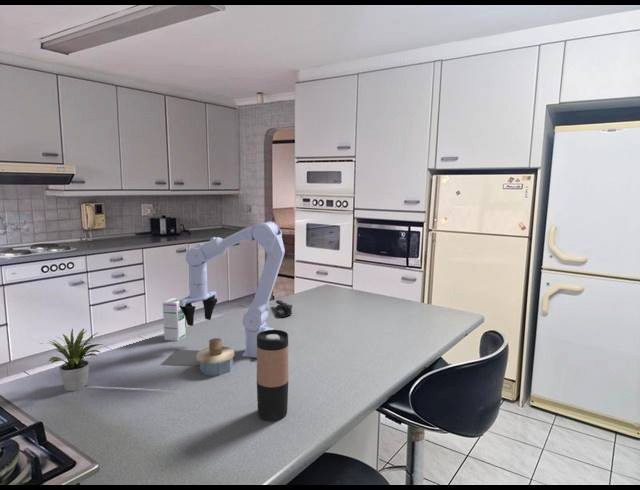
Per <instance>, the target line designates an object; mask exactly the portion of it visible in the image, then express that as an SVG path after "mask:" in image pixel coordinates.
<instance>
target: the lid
mask: <svg viewBox="0 0 640 490" xmlns="http://www.w3.org/2000/svg"><path fill="white" fill-rule="evenodd" d="M208 342H209V343H208V346H209V347H205V348H203V349H200V350H199V352H198V353H197V360H198V361H200V362H203V363H209V364H214V363H222V362H225V361H228V360H230V359H232V358H233V359H234V357H235V351H234V349H233V348H231V347H228V346H223V345H222V344H223V343H222V342H223V341H222V339H221V338H211V339H209V341H208Z"/></svg>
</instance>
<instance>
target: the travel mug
mask: <svg viewBox="0 0 640 490" xmlns="http://www.w3.org/2000/svg"><path fill="white" fill-rule="evenodd" d="M288 395H289V334H288V332H286V331H285V330H282V329H274V330H266V331H262V332H260V333H258V334H257V358H256V399H257V415H258V417H259V418H260V419H261V420H263V421H267V422H277V421H281V420H282V419H284V418H285V417H286V416H287V414H288V401H289V398H288V397H289V396H288Z"/></svg>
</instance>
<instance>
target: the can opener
mask: <svg viewBox="0 0 640 490" xmlns="http://www.w3.org/2000/svg"><path fill="white" fill-rule="evenodd" d="M275 303H276V304H277V305H276V308H278V309H277V311H276V316H278V317H280V318H281V317H289V316H291V315H292V314H293V312H292V311H293V310H292V309H293V304H288V303H286V302H285V301H284V300H279V299H277V300H275ZM288 315H289V316H288Z"/></svg>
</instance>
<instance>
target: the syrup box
mask: <svg viewBox="0 0 640 490" xmlns="http://www.w3.org/2000/svg"><path fill="white" fill-rule="evenodd" d="M181 299H182V298H180V297H179V298H177V297H176V298H175V297H174V298H170V299H167V300H166V301H163V302H162V317H163V334H164V335H163V337H164V340H165V341H166V340H167V341H174V342H175V341H176V342H179V341H181V340H182V339H184V338H186V337H187V334H188V333H187V331H188V330H187V321H186V318H185V315H184V313H183V311H182V310H181V308H180V306H179V300H181Z"/></svg>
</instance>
